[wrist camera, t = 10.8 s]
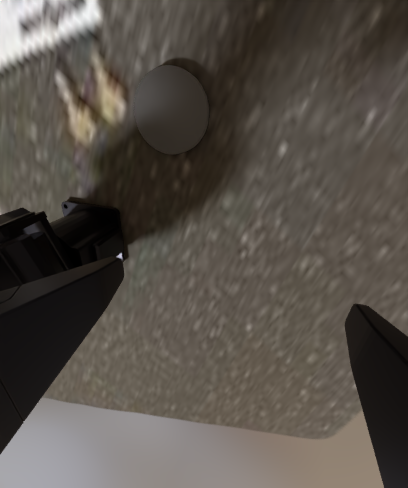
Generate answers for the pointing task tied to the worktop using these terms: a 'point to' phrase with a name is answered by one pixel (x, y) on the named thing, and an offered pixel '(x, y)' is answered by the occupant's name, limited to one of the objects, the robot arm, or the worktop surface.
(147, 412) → the worktop surface
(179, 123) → the lens cap
